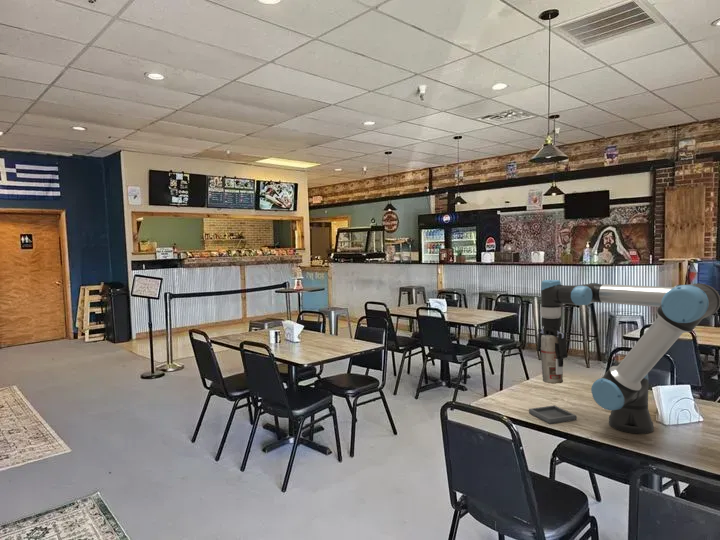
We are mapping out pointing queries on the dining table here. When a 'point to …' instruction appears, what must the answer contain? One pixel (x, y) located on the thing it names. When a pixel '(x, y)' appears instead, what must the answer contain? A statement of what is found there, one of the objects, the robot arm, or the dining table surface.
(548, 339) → the spray can
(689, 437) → the dining table surface
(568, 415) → the tray
